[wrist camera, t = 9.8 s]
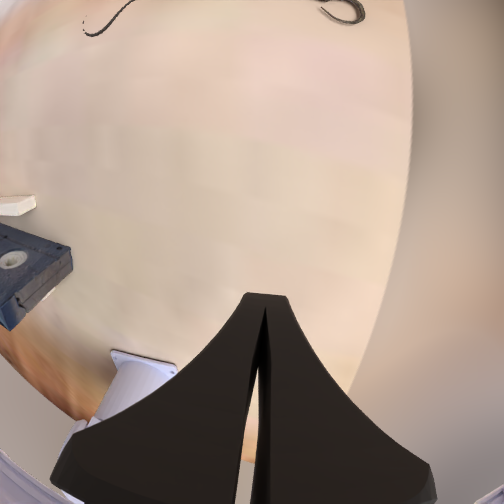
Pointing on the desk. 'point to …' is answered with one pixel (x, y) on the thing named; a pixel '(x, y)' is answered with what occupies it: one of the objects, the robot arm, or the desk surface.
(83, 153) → the desk surface
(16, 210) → the rail dock
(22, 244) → the vhs cassette tape
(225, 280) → the desk surface
